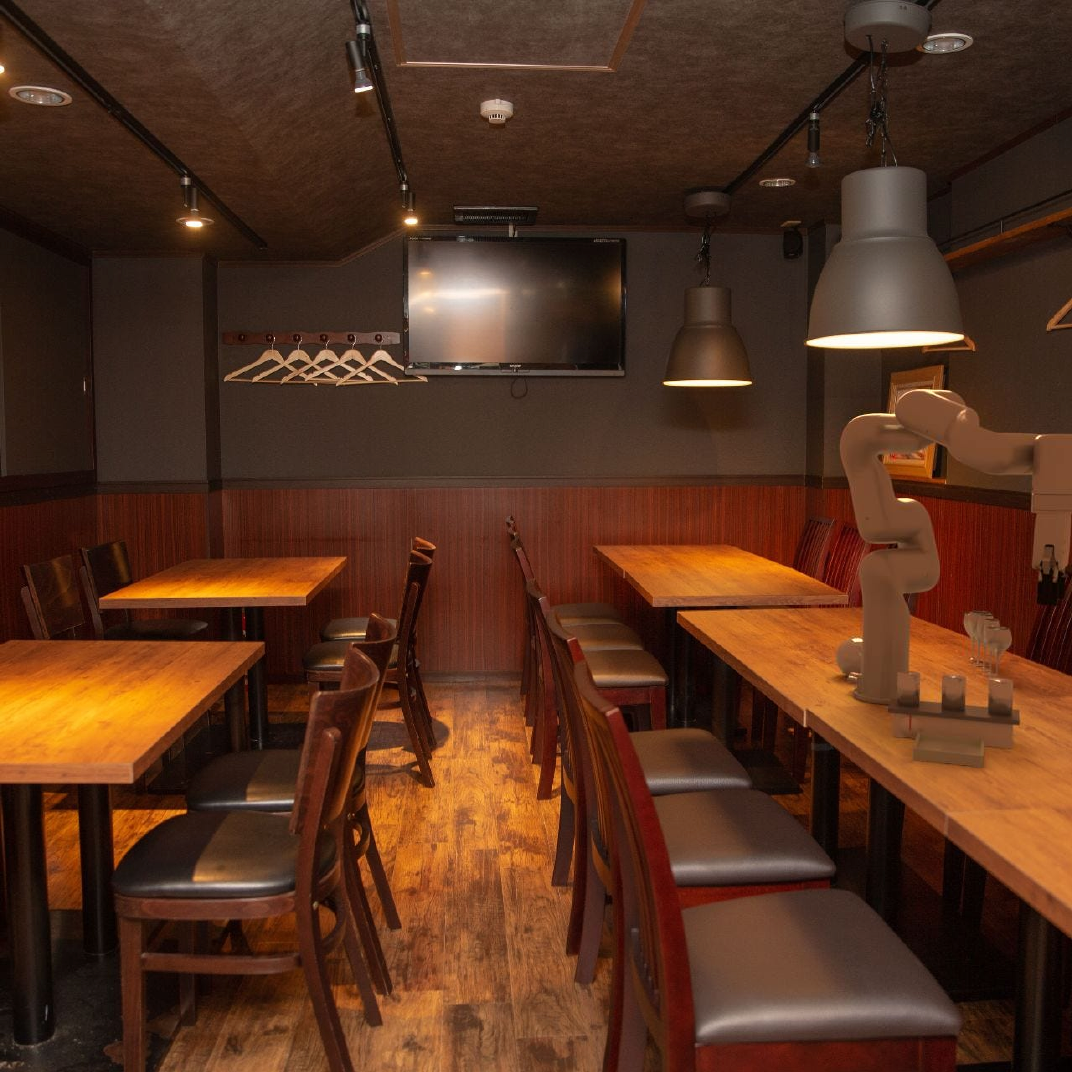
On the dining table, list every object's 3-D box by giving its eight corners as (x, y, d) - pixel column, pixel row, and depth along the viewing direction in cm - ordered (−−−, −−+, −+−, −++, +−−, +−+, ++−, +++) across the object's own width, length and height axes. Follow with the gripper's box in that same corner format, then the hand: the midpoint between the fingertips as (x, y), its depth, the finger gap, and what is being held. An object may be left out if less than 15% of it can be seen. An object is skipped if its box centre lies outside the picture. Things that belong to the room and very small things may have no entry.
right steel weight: (983, 712, 189) (984, 679, 189) (995, 709, 192) (996, 677, 191) (1004, 717, 186) (1005, 683, 186) (1016, 714, 189) (1017, 681, 188)
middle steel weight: (936, 708, 193) (937, 676, 192) (949, 705, 195) (950, 673, 194) (956, 712, 189) (957, 680, 189) (969, 709, 192) (970, 677, 191)
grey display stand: (886, 736, 193) (887, 708, 193) (891, 725, 201) (891, 698, 200) (1018, 750, 184) (1019, 720, 184) (1018, 738, 192) (1019, 710, 192)
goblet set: (958, 658, 266) (960, 606, 265) (982, 659, 266) (984, 607, 264) (986, 682, 239) (988, 624, 238) (1013, 683, 238) (1015, 625, 237)
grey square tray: (912, 759, 179) (912, 748, 179) (917, 743, 189) (917, 732, 189) (983, 767, 174) (983, 756, 174) (984, 750, 184) (984, 739, 184)
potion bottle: (830, 680, 246) (896, 691, 244) (837, 663, 238) (906, 674, 236) (832, 645, 251) (897, 654, 249) (840, 627, 243) (907, 636, 240)
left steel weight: (892, 704, 196) (893, 672, 195) (905, 701, 198) (906, 669, 198) (910, 708, 193) (911, 676, 192) (923, 705, 195) (924, 673, 194)
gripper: (1038, 502, 194) (1034, 594, 195) (1023, 506, 179) (1020, 606, 181) (1084, 503, 190) (1080, 597, 191) (1073, 507, 175) (1068, 609, 177)
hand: (1050, 601), depth 186 cm, fingers open, 9 cm apart
